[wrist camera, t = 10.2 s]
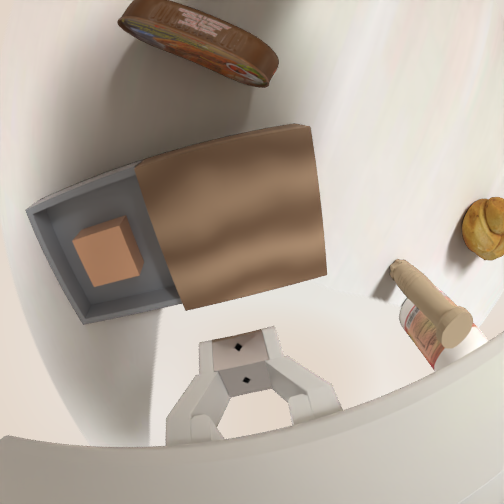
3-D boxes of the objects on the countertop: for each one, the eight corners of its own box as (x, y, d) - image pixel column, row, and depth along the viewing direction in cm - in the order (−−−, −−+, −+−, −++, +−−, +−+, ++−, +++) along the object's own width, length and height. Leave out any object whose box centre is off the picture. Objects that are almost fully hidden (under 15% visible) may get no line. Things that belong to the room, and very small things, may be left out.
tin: (127, 37, 22) (102, 16, 14) (143, 13, 21) (123, -16, 13) (256, 92, 27) (275, 87, 20) (271, 68, 26) (295, 55, 18)
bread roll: (499, 223, 40) (528, 242, 33) (472, 263, 43) (500, 285, 36) (478, 181, 36) (514, 198, 29) (448, 226, 38) (482, 250, 31)
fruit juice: (442, 276, 43) (546, 387, 18) (434, 316, 47) (517, 422, 23) (400, 293, 43) (504, 427, 18) (394, 333, 47) (474, 457, 23)
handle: (394, 288, 42) (449, 354, 29) (375, 267, 39) (436, 336, 26) (415, 267, 41) (475, 326, 28) (399, 243, 38) (467, 305, 25)
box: (39, 199, 28) (25, 209, 25) (142, 159, 28) (134, 166, 25) (90, 308, 35) (83, 324, 32) (184, 286, 36) (183, 303, 33)
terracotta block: (119, 225, 27) (126, 215, 30) (72, 240, 27) (81, 229, 30) (139, 275, 30) (144, 261, 33) (94, 287, 30) (101, 273, 33)
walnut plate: (144, 159, 28) (133, 168, 24) (294, 123, 29) (310, 126, 24) (186, 285, 36) (185, 310, 31) (312, 253, 36) (327, 274, 32)
